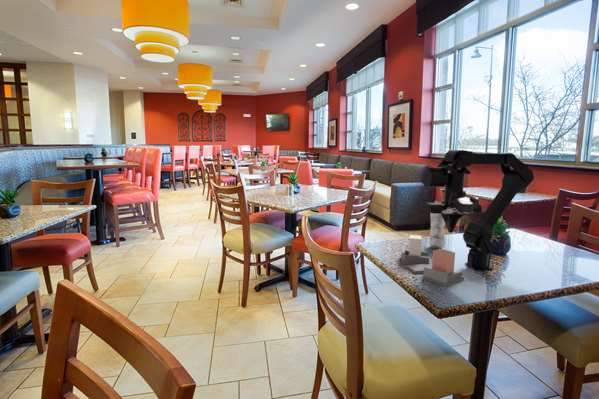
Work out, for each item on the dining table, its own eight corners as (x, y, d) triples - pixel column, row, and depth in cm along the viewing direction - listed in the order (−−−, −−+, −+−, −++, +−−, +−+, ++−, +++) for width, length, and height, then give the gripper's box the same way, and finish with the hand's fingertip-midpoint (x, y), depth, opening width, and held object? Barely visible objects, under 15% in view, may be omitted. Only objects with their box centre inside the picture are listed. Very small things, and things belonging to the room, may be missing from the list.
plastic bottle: (434, 251, 141) (438, 203, 138) (424, 246, 148) (427, 200, 145) (448, 249, 143) (451, 202, 140) (437, 245, 149) (440, 200, 147)
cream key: (419, 256, 130) (420, 235, 129) (420, 260, 125) (421, 239, 124) (408, 255, 131) (409, 235, 130) (408, 259, 126) (410, 238, 125)
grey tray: (423, 255, 135) (424, 246, 134) (473, 285, 106) (474, 272, 105) (391, 257, 133) (392, 247, 132) (433, 287, 104) (434, 275, 103)
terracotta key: (439, 272, 113) (440, 248, 112) (453, 276, 109) (455, 252, 108) (431, 274, 111) (433, 250, 110) (445, 279, 107) (447, 254, 106)
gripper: (442, 190, 107) (438, 239, 109) (495, 190, 110) (491, 237, 112) (423, 186, 118) (420, 231, 120) (473, 186, 121) (469, 229, 123)
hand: (450, 232), depth 118 cm, fingers closed
